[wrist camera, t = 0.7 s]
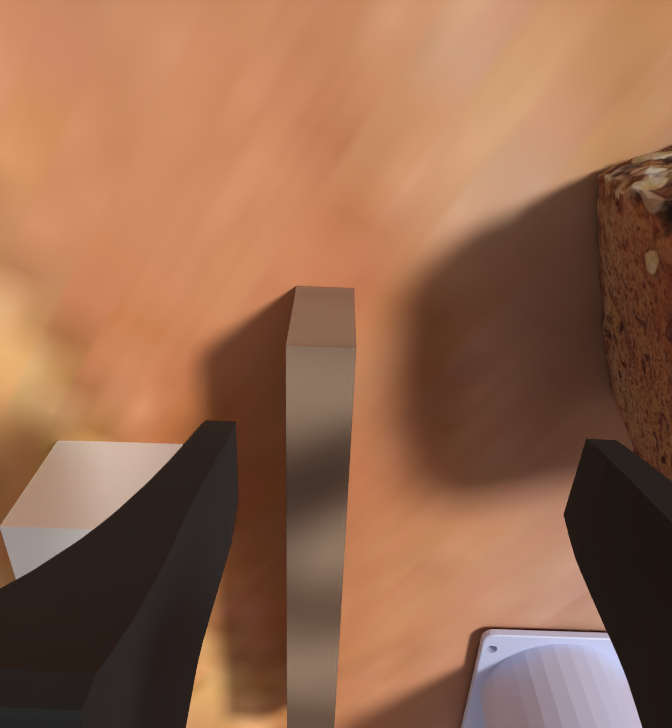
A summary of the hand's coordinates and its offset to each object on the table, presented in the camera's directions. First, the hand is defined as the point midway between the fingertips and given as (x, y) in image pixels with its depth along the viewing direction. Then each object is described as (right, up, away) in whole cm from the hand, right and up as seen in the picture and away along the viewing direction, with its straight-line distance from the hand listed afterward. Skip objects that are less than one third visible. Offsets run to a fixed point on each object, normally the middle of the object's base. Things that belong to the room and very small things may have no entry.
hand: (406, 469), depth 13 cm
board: (-2, -5, +14) cm, 15 cm away
